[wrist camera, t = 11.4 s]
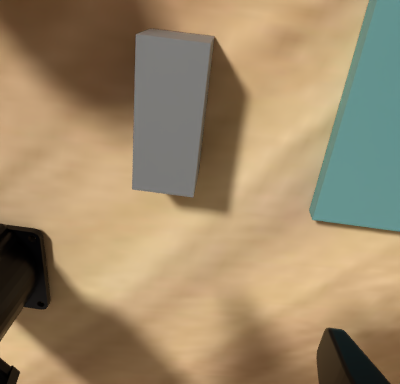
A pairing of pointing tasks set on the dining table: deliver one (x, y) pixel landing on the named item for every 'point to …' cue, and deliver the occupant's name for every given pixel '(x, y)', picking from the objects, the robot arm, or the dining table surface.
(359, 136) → the peg stand
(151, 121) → the block
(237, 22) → the dining table surface
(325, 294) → the dining table surface
